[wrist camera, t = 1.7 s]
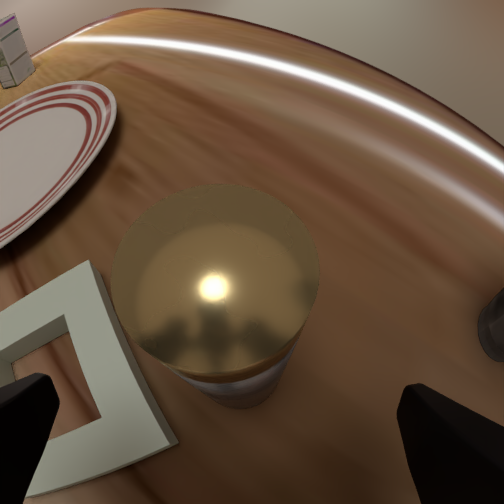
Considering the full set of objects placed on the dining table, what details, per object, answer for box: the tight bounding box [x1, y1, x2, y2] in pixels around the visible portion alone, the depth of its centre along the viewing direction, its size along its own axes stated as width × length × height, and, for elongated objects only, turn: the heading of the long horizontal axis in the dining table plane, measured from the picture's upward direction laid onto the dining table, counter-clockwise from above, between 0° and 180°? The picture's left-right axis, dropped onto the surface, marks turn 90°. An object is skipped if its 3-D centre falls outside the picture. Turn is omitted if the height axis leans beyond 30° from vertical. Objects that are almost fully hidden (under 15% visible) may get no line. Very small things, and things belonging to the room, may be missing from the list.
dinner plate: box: [0, 81, 117, 249], centre depth 25 cm, size 28×27×3 cm
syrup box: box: [0, 13, 35, 89], centre depth 35 cm, size 6×6×14 cm
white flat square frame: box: [0, 260, 179, 499], centre depth 15 cm, size 12×12×2 cm
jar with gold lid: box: [111, 184, 320, 409], centre depth 12 cm, size 4×4×12 cm
